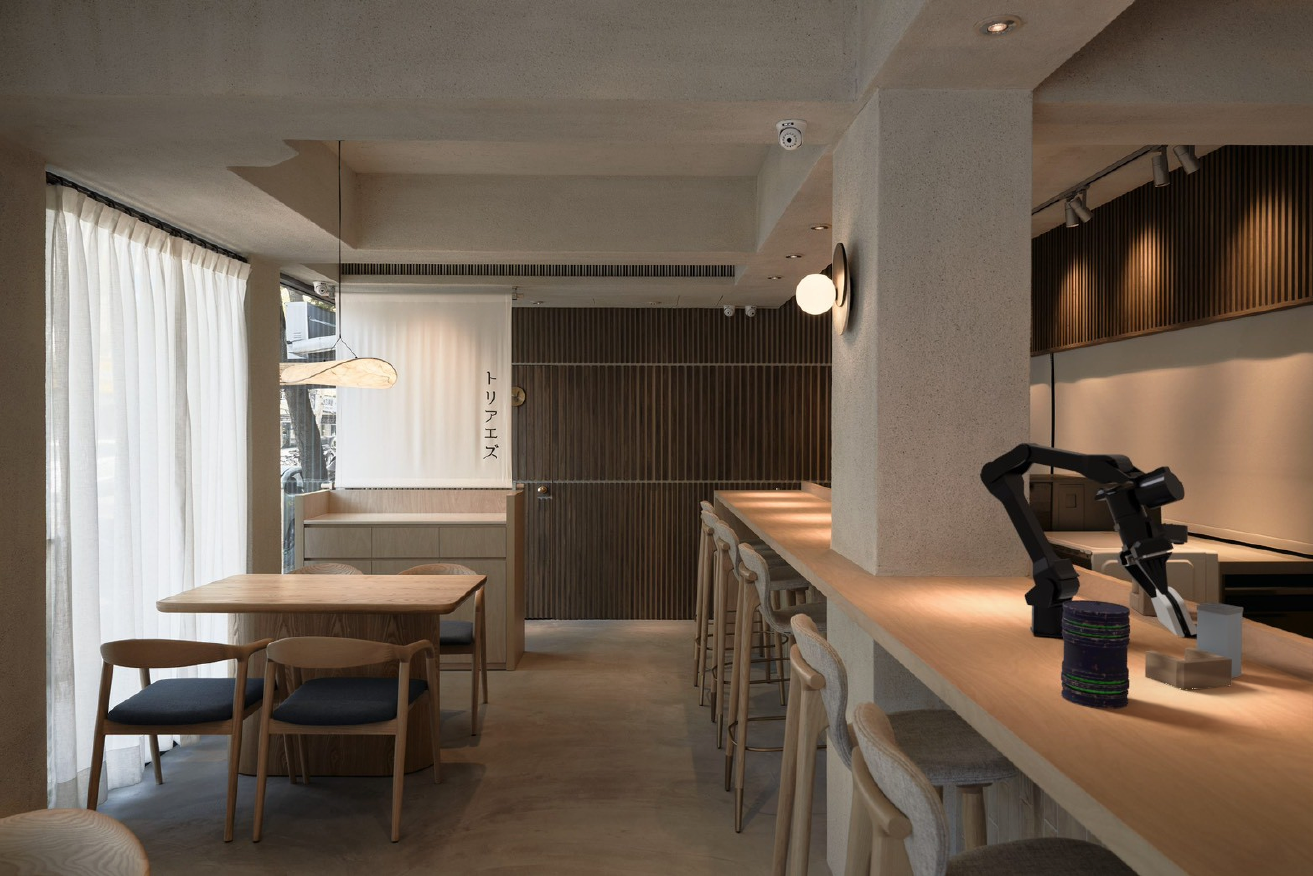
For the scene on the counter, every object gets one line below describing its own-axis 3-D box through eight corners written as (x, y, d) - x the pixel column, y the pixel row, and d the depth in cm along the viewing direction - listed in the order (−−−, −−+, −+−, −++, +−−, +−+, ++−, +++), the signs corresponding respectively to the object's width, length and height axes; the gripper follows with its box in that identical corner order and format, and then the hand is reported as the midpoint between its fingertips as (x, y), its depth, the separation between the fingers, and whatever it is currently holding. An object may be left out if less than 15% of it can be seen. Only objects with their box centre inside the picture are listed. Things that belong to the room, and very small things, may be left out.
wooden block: (1142, 615, 204) (1144, 537, 204) (1129, 606, 214) (1130, 532, 214) (1160, 616, 203) (1161, 538, 203) (1145, 607, 213) (1147, 532, 213)
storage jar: (1126, 713, 135) (1128, 615, 135) (1056, 702, 140) (1057, 608, 140) (1131, 696, 143) (1132, 604, 143) (1065, 686, 149) (1066, 597, 148)
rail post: (1195, 672, 157) (1196, 605, 157) (1210, 668, 160) (1212, 602, 160) (1226, 679, 153) (1228, 610, 153) (1241, 675, 156) (1243, 607, 155)
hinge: (1206, 639, 182) (1188, 592, 183) (1181, 645, 183) (1163, 599, 184) (1183, 621, 198) (1167, 579, 199) (1161, 627, 199) (1145, 584, 200)
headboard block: (1145, 676, 154) (1145, 651, 154) (1191, 672, 157) (1191, 647, 157) (1183, 690, 147) (1184, 663, 147) (1231, 685, 149) (1231, 659, 149)
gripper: (1186, 497, 160) (1220, 581, 155) (1162, 513, 177) (1192, 589, 173) (1122, 513, 163) (1153, 596, 158) (1104, 527, 180) (1132, 602, 175)
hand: (1159, 596), depth 166 cm, fingers open, 9 cm apart
